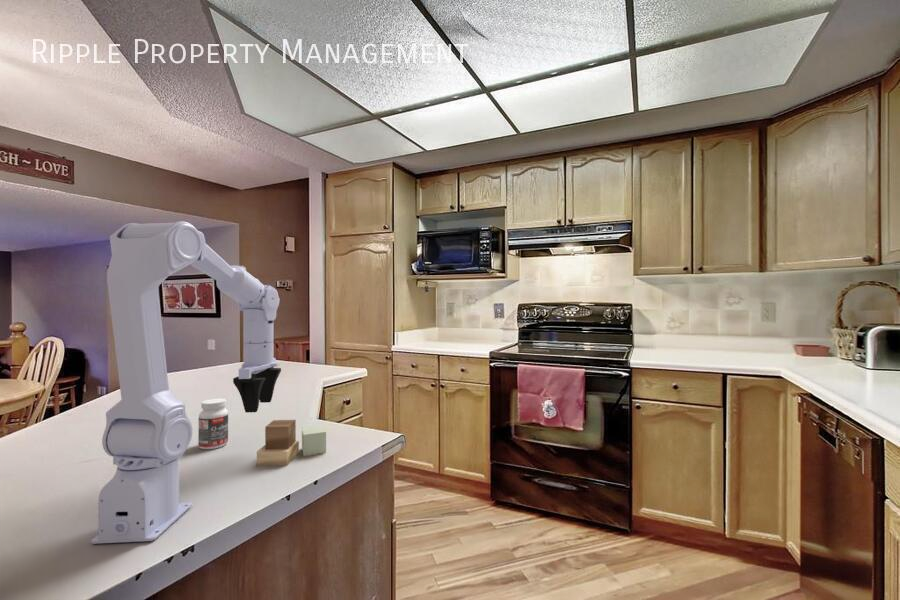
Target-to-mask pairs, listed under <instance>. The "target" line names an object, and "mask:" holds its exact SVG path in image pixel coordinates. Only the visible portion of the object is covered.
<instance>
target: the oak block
mask: <svg viewBox="0 0 900 600" xmlns="http://www.w3.org/2000/svg"><path fill="white" fill-rule="evenodd" d="M299 444H300V441H299V440H296V441H295V442H294V443H293V445H292V446H291V447H290V448H289V449H269V450H265V444H264V445H263V446H262V447H261V448H259V449H258V450H257V451H256V466H288V465H289V464H290V463H291V462H292V461H293V460H295V458H296V457H297V456H298V455H299V454H300V452H299V450H300V448H299V447H300V445H299ZM298 453H299V454H298ZM297 454H298V455H297ZM296 455H297V456H296ZM295 456H296V457H295Z"/></svg>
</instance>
